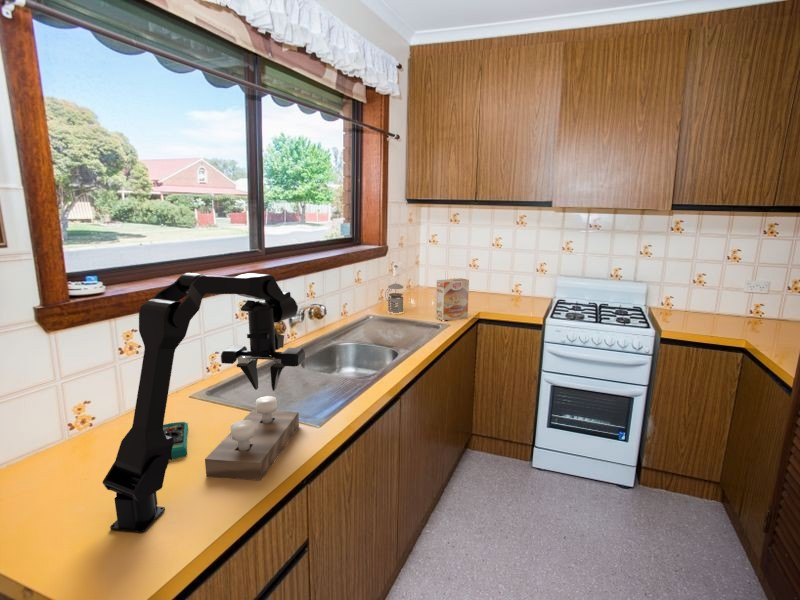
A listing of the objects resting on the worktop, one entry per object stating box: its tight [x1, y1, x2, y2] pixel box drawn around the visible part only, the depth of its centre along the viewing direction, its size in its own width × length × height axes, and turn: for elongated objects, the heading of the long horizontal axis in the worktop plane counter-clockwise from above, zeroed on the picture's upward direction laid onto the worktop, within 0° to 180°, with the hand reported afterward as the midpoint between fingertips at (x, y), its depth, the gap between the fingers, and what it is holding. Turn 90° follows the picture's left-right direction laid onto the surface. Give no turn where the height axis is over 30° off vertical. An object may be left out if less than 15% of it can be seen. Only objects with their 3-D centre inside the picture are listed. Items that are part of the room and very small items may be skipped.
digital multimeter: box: [163, 421, 189, 460], centre depth 111 cm, size 7×15×3 cm, turn 23°
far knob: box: [255, 395, 278, 424], centre depth 114 cm, size 5×5×7 cm
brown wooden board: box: [204, 409, 300, 481], centre depth 109 cm, size 24×12×4 cm, turn 173°
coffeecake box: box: [435, 277, 470, 322], centre depth 231 cm, size 15×7×20 cm, turn 119°
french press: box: [384, 264, 404, 313], centre depth 244 cm, size 10×12×25 cm
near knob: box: [230, 419, 255, 451], centre depth 102 cm, size 5×5×7 cm
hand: (265, 389), depth 113 cm, fingers open, 4 cm apart
